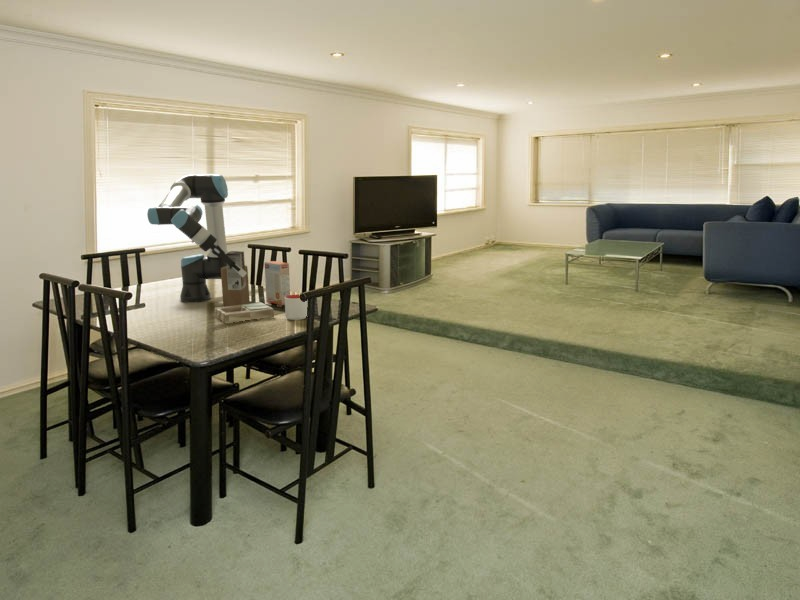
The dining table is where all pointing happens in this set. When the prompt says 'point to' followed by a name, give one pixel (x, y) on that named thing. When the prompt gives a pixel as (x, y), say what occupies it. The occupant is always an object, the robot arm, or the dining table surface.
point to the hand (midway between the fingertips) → (243, 273)
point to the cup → (295, 307)
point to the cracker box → (277, 282)
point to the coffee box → (232, 276)
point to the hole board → (244, 312)
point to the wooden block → (234, 291)
